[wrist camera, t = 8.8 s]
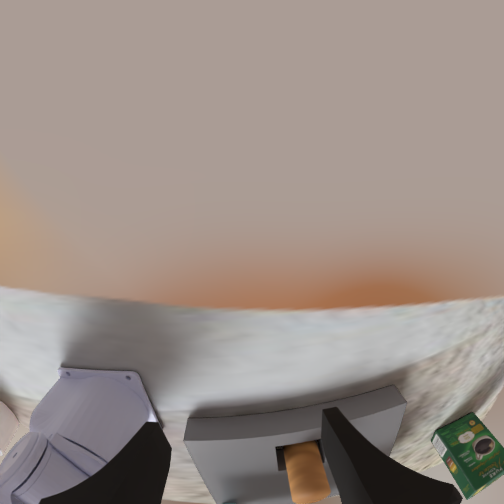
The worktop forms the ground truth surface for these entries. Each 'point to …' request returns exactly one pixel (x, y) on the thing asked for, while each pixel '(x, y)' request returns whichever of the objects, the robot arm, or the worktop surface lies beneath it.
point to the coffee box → (470, 454)
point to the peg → (306, 472)
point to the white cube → (6, 426)
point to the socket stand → (280, 444)
